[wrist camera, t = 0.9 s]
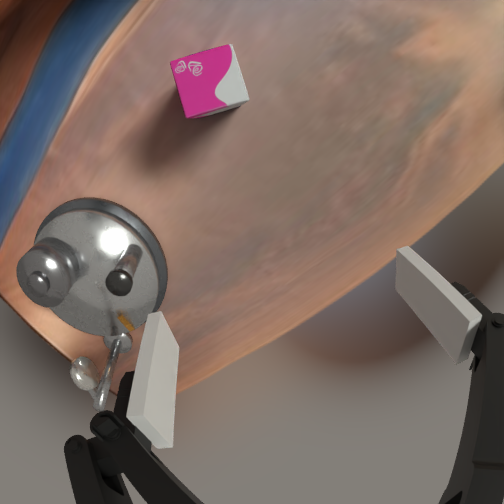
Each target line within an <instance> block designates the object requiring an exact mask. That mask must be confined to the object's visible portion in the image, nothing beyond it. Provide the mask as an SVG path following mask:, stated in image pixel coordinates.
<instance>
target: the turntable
mask: <svg viewBox="0 0 504 504" xmlns="http://www.w3.org/2000/svg"><path fill="white" fill-rule="evenodd" d="M46 237H54V238H58V239H60V240H62V241H63V242H65V243H66V244H67V245H68V246H69V247H70V248H71V249H72V250H73V252H74V253H75V255H76V257H77V259H78V263H79V275H78V278H77V280H76V282H75V283H74V285H73V286H72V288H71V289H70V291H69V292H68V294H67V295H66V297H65V299H64V300H63V301H62V303H61V304H59V305H58V306H55V307H50V309H51V310H52V311H53V312H54V313H55V314H56V315H57V316H58V317H60V318H61V319H62V320H63V321H65V322H66V323H68V324H69V325H71V326H73V327H74V328H76V329H79V330H81V331H83V332H86V333H90V334H94V335H99V336H116V335H122V334H126V333H128V332H131V331H133V330H135V329H136V328H138V327H139V326H141V325H142V324H143V323H144V322H145V321H146V320H147V317H148V314H150V313H152V311H153V309H154V306H155V303H156V299H157V295H158V291H159V284H160V278H159V270H158V265H157V262H156V259H155V256H154V254H153V252H152V250H151V248H150V246H149V245H148V243H147V242H146V240H145V239H144V238H143V237H142V235H141V234H140V233H139V232H138V231H137V230H136V229H135V228H134V227H133V226H132V225H130V224H129V223H128V222H127V221H125V220H124V219H122V218H120V217H119V216H117V215H115V214H112V213H110V212H108V211H104V210H101V209H96V208H76V209H72V210H68V211H66V212H64V213H62V214H60V215H58V216H57V217H55V218H54V219H53V220H52V221H50V222H49V223H48V224H47V225H46V226H45V227H44V228H43V229H42V230H41V232H40V233H39V235H38V237H37V239H36V241H35V243H34V245H35V244H36V243H37V242H38V241H40V240H41V239H43V238H46Z"/></svg>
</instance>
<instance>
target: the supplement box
mask: <svg viewBox="0 0 504 504" xmlns="http://www.w3.org/2000/svg"><path fill="white" fill-rule="evenodd" d="M170 65H171V69H172V72H173V76H174V79H175V83H176V86H177V90H178V94H179V97H180V100H181V104H182V107H183V111H184V114H185V117H186V118H202V117H205V116H209V115H212V114H216V113H219V112H223V111H226V110H229V109H233V108H236V107H239V106H241V105H242V104H244V103H246V102H247V101H249V96H248V93H247V90H246V86H245V83H244V80H243V77H242V73H241V70H240V67H239V64H238V61H237V58H236V55H235V52H234V49H233V46H232V44H229V45H224V46H221V47H217V48H213V49H209V50H206V51H202V52H199V53H196V54H192V55H189V56H186V57H183V58H180V59H177V60H174V61H171V62H170Z"/></svg>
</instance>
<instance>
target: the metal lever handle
mask: <svg viewBox="0 0 504 504" xmlns="http://www.w3.org/2000/svg"><path fill="white" fill-rule="evenodd" d="M104 343H105V345H106V346H107V347H108V348H109V349H110V352H109V355H108V358H107V361H106V364H105V367H104V370H103V374H102V377H101V380H100V384H99V372H98V369H97V367H96V366H95V364H94V363H93V362H92V361H91V360H90V359H89V358H87V357H79V358H77V359H75V360H73V361H72V362H71V364H70V369H69V370H70V375H71V378H72V380H73V382H74V383H75V384H76V386H78V387H79V388H80V389H82V390H88V391H89V393H90V394H91V396H92V398H93V399H94V400H95V401H94V404H93V408H94V409H95V410H97V411H99V412H101V411H104V407H105V403H106V399H107V395H108V392H109V388H110V384H111V380H112V377H113V373H114V369H115V366H116V362H117V359H118V356H119V353H126V352H128V351H129V350H130V349H131V347H132V343H133V340H132V337H131V335H130V334H129V333H126V334H122V335H116V336H104ZM98 384H99V387H98V389H97V385H98Z"/></svg>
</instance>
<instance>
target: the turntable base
mask: <svg viewBox="0 0 504 504" xmlns="http://www.w3.org/2000/svg"><path fill="white" fill-rule="evenodd" d="M76 208H96V209H101V210H104V211H108V212H110V213H112V214H115V215H117V216H119V217H120V218H122V219H124V220H125V221H127V222H128V223H129V224H130V225H132V226H133V227H134V228H135V229H136V230H137V231H138V232H139V233H140V234H141V235H142V237H143V238H144V239H145V240H146V242H147V243H148V245H149V246H150V248H151V250H152V252H153V254H154V256H155V259H156V262H157V265H158V270H159V278H160V284H159V291H158V295H157V299H156V303H155V306H154V309H153V311H152V313H155V312H157V310H158V308H159V307H160V305H161V303H162V301H163V299H164V296H165V292H166V288H167V280H168V271H167V264H166V259H165V256H164V252H163V250H162V248H161V245H160V243H159V241H158V240H157V238H156V236H155V235H154V233H153V232H152V231H151V229H150V228H149V227H148V226H147V225H146V224H145V223H144V222H143V221H142V220H141V219H140V218H139V217H138V216H137V215H136V214H134V213H133V212H132V211H130V210H128V209H127V208H125V207H123V206H122V205H119V204H117V203H115V202H112V201H109V200H105V199H100V198H79V199H74V200H71V201H68V202H66V203H64V204H62V205H60V206H59V207H57V208H56V209H55V210H53V211H52V212H51V213H50V214H49V215H48V216H47V217H46V218H45V219H44V221H43V222H42V224H41V225H40V227H39V229H38V231H37V234H36V237H35V241H36V239H37V237H38V235H39V233H40V232H41V230H42V229H43V228H44V227H45V226H46V225H47V224H48V223H49V222H50V221H52V220H53V219H54V218H55V217H57V216H58V215H60V214H62V213H64V212H66V211H68V210H72V209H76ZM35 241H34V243H35ZM146 321H147V320H146ZM146 321H145V322H146ZM145 322H144V323H145Z"/></svg>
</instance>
